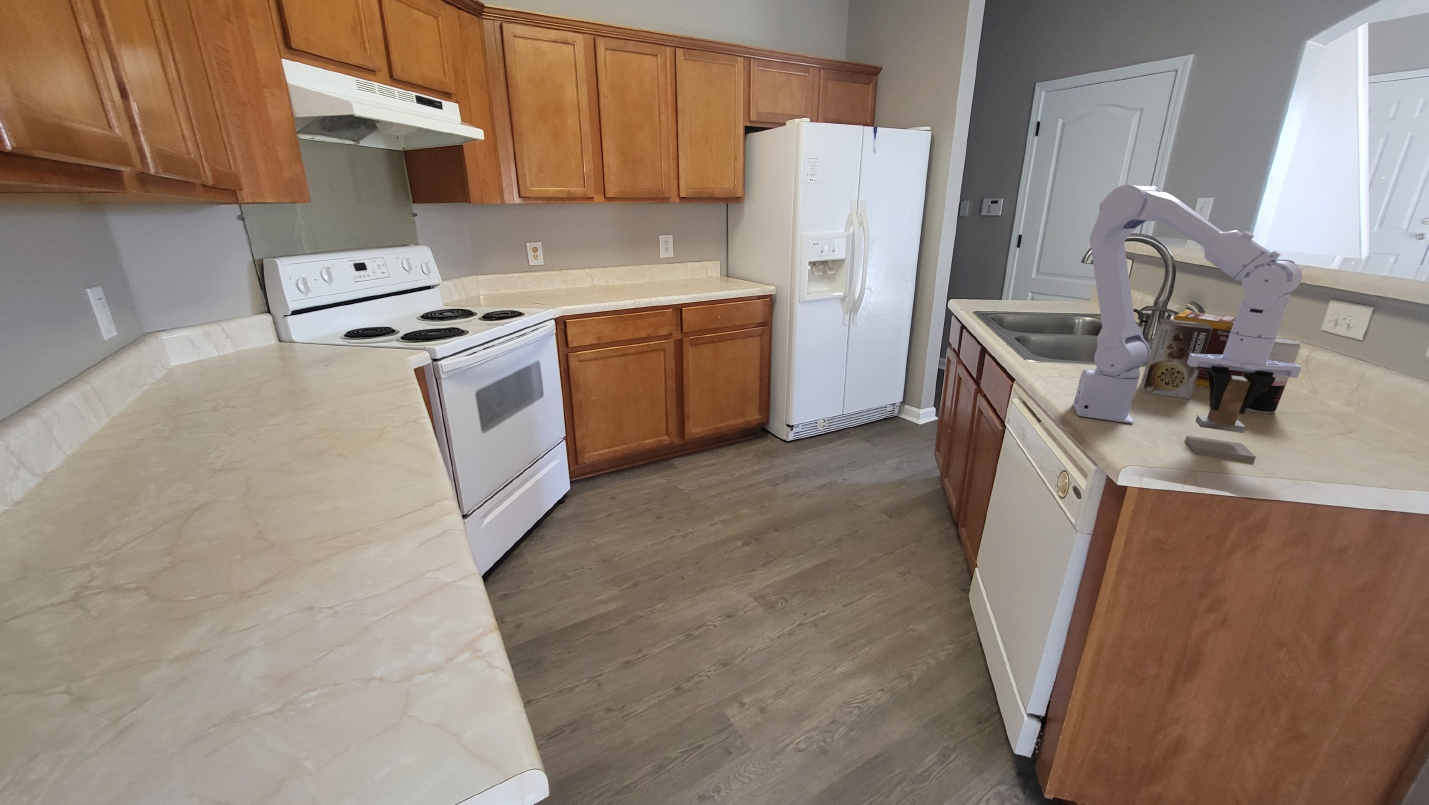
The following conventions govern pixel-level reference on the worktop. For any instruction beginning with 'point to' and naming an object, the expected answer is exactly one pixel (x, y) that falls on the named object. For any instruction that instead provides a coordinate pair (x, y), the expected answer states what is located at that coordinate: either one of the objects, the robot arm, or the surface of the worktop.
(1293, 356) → the beverage can
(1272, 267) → the robot arm
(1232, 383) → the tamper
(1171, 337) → the coffee box
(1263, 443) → the worktop surface
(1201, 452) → the tile
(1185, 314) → the supplement box
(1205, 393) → the worktop surface
